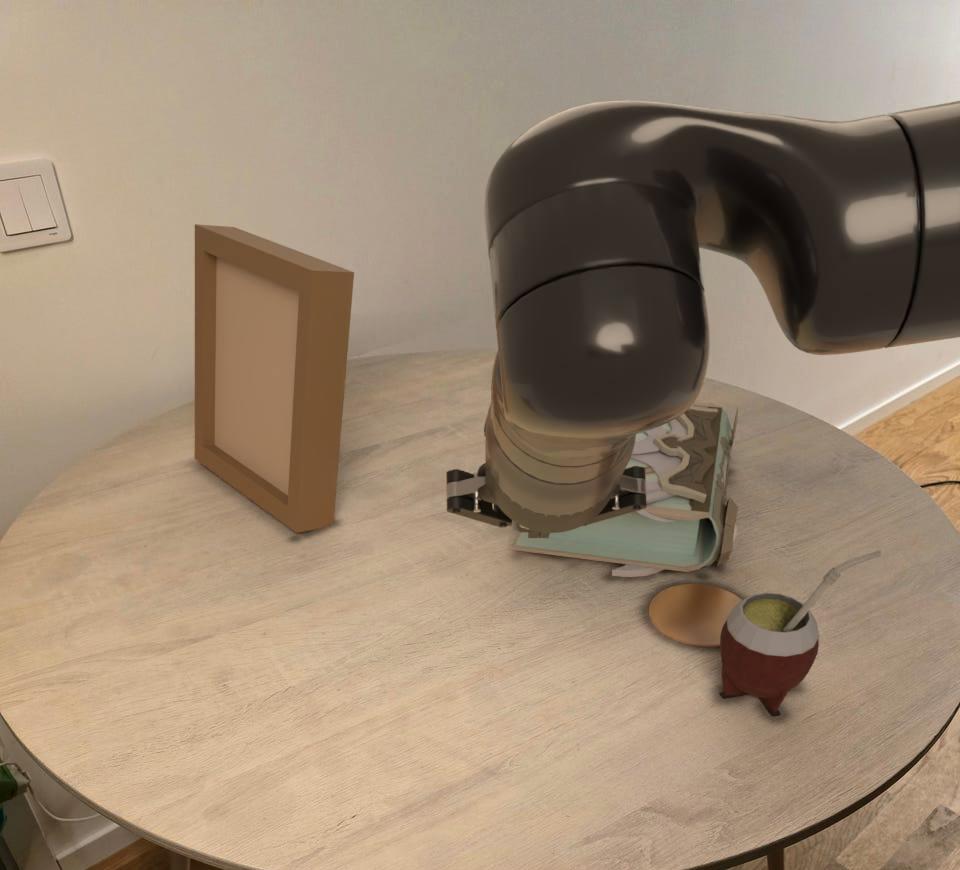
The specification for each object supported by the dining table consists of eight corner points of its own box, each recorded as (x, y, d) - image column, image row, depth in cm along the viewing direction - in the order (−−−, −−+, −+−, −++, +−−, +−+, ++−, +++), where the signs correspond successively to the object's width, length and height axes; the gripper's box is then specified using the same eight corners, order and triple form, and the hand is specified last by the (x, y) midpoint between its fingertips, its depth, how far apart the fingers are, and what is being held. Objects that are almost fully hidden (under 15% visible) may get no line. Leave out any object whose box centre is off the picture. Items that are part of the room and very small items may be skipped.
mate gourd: (697, 672, 73) (725, 512, 63) (785, 656, 74) (826, 497, 65) (738, 734, 67) (775, 569, 58) (833, 717, 68) (885, 552, 59)
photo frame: (297, 541, 90) (254, 284, 74) (196, 466, 103) (141, 234, 87) (414, 492, 97) (397, 249, 81) (306, 428, 110) (274, 208, 94)
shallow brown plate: (739, 588, 82) (740, 582, 82) (764, 649, 75) (765, 644, 75) (641, 589, 82) (641, 584, 82) (657, 651, 75) (657, 646, 75)
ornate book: (726, 606, 81) (739, 449, 103) (744, 516, 75) (753, 369, 97) (486, 574, 86) (547, 430, 108) (484, 487, 80) (549, 353, 102)
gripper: (431, 516, 46) (446, 577, 63) (686, 512, 46) (632, 574, 63) (429, 377, 47) (445, 475, 64) (680, 372, 47) (628, 471, 64)
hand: (538, 524), depth 64 cm, fingers closed
